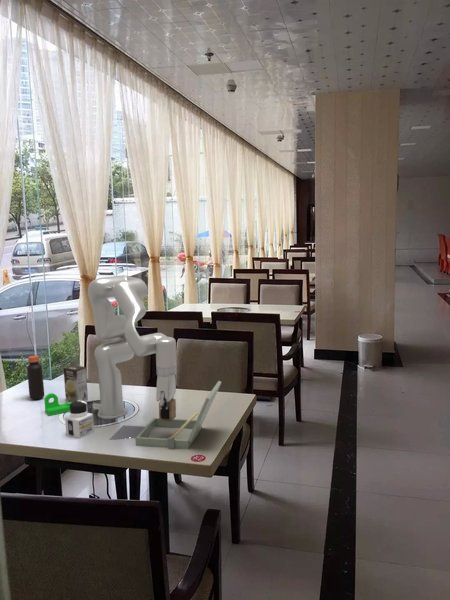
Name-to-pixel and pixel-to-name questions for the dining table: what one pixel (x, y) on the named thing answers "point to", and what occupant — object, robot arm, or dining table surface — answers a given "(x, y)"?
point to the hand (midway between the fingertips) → (167, 415)
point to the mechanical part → (55, 405)
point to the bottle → (35, 378)
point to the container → (79, 420)
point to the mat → (127, 432)
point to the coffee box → (75, 383)
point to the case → (177, 423)
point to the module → (171, 410)
